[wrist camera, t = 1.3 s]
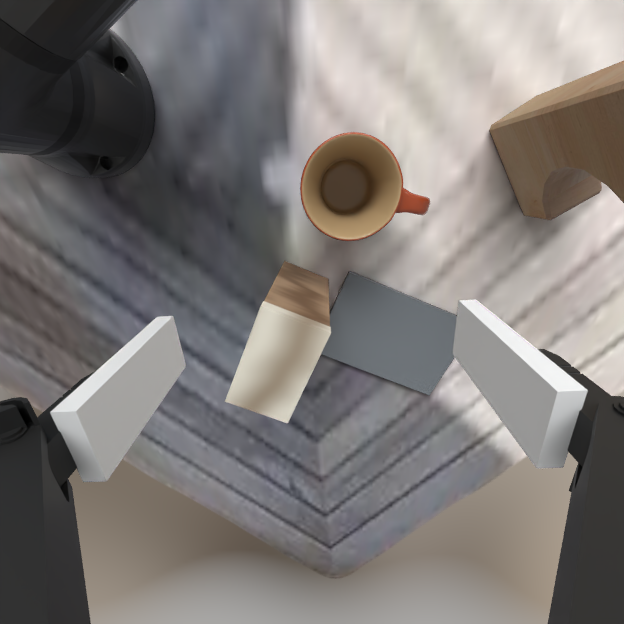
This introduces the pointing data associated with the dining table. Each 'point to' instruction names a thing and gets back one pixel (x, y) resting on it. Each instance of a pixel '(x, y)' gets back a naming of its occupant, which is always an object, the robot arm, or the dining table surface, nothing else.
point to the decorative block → (565, 144)
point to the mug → (355, 187)
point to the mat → (390, 334)
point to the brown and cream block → (283, 344)
